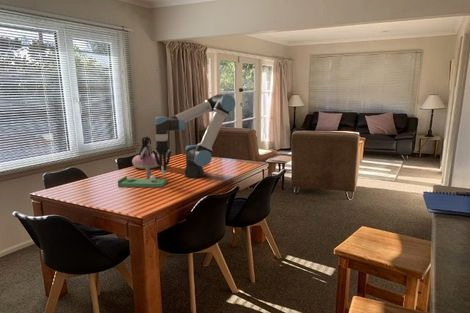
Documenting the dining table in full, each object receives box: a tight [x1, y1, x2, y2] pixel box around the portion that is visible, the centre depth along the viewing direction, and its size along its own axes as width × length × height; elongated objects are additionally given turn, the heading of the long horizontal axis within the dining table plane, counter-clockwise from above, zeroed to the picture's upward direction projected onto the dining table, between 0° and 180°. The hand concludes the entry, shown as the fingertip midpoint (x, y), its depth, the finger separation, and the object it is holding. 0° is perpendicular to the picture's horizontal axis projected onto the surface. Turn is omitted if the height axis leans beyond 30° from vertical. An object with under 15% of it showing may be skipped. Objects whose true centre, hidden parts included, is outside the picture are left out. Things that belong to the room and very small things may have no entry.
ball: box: [149, 174, 157, 181], centre depth 223 cm, size 4×4×4 cm
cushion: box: [131, 153, 163, 170], centre depth 277 cm, size 25×25×10 cm
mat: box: [117, 175, 168, 188], centre depth 224 cm, size 30×12×4 cm, turn 84°
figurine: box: [138, 136, 155, 178], centre depth 243 cm, size 22×10×30 cm, turn 168°
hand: (163, 174), depth 222 cm, fingers closed
